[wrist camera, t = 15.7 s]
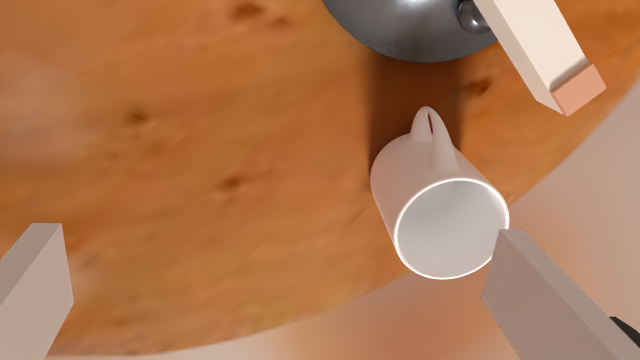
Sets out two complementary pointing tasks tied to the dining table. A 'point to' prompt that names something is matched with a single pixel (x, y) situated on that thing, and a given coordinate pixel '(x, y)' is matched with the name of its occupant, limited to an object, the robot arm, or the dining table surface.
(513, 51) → the handle
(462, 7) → the base
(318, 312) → the dining table surface
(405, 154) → the mug
